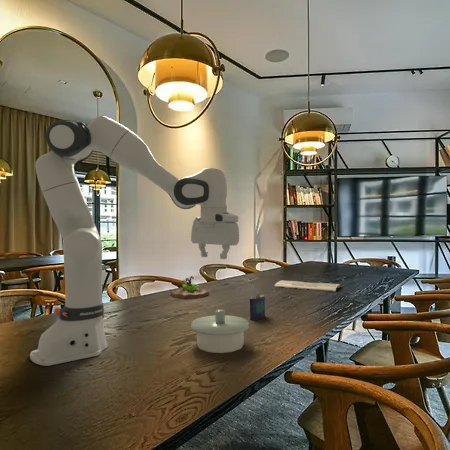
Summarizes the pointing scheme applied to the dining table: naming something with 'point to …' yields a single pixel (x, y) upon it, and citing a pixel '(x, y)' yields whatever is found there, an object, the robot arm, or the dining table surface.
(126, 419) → the dining table surface
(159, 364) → the dining table surface
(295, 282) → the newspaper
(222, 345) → the bowl
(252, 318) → the flask
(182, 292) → the plant
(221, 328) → the lid
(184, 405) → the dining table surface
